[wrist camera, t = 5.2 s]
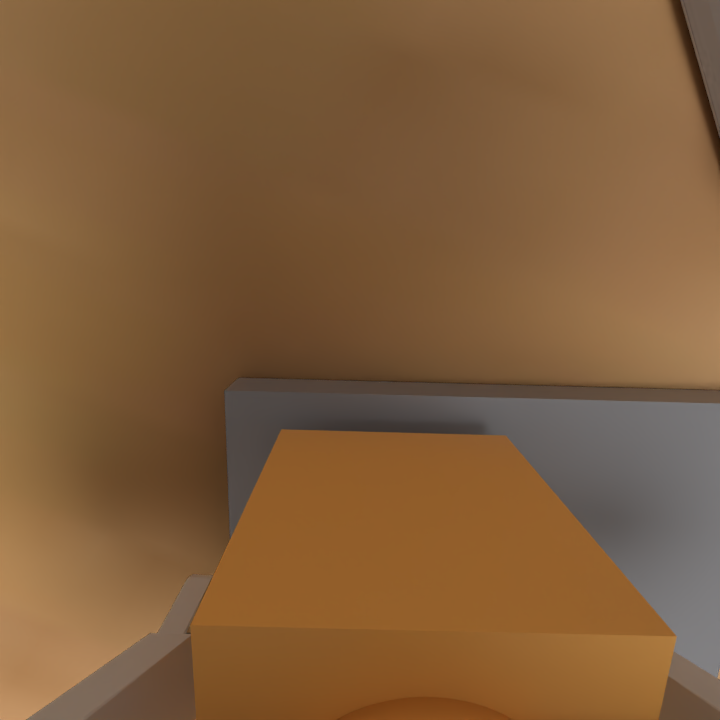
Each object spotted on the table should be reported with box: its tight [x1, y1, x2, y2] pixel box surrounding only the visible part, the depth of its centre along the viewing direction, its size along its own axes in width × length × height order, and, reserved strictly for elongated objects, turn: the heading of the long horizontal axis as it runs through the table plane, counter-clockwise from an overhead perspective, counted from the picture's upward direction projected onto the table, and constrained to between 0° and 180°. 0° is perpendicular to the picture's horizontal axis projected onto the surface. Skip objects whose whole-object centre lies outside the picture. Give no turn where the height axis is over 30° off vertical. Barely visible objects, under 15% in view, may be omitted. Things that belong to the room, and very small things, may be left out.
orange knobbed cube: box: [190, 429, 677, 720], centre depth 9 cm, size 6×6×8 cm
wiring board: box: [224, 378, 720, 678], centre depth 13 cm, size 18×16×6 cm
